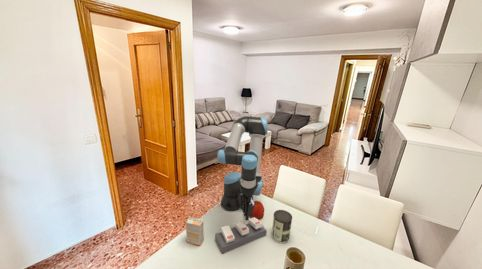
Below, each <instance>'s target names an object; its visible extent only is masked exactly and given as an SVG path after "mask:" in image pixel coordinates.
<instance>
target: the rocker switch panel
mask: <svg viewBox="0 0 482 269" xmlns="http://www.w3.org/2000/svg"><path fill="white" fill-rule="evenodd" d="M246 226H247V227H248V228H249V233H247V234H245V235H241V234H240V233H239V231H238V230H237V229H236V228H235V226H234V227H230V229H231V231H232V233H233V235H234V237H235V239H234V241H232V242H229V243H226V241H225V239H224V236H223V234H222V232H221V231H219V232H217V233H215V234H214V240H215V242H216V244H217V246H218V248H219V250H220V252H221V254H222V255H223V254H225V253H228V252H230V251H233V250H234V249H237V248H240V247H242V246H244V245H247V244H249V243H251V242H254V241H256V240H258V239H261V238H265V237H267V234H268V229H267V228H266V226H265V225H264V224H263V223H262V227H260V228H258V229H255V228H254V227H253V226H251V225H250V224H249V223H248V224H246Z"/></svg>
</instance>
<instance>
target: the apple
mask: <svg viewBox="0 0 482 269" xmlns="http://www.w3.org/2000/svg"><path fill="white" fill-rule="evenodd" d="M253 202H255V203H256V205H255V206H254V209H253V212H252V215H251V216H250V218H254V217H255V218H256V219H258V220H260V219H262V218H263V217H264V214H265V207H264V205H263V203H262V201H259V200H253Z"/></svg>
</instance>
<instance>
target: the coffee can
mask: <svg viewBox="0 0 482 269" xmlns="http://www.w3.org/2000/svg"><path fill="white" fill-rule="evenodd" d="M272 221H273V222H272V230H271V237H272V239H273V240H274V241H275V242H277V243H280V244H287V243H288V242H289V241H290V236H291V228H292V223H293V222H292V221H293V215H292V213H290V212H289V211H288V210H285V209H277V210H275V211H274V212H273V220H272Z"/></svg>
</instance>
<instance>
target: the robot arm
mask: <svg viewBox="0 0 482 269" xmlns="http://www.w3.org/2000/svg"><path fill="white" fill-rule="evenodd" d="M230 128H231V131H230V135H229V136H228V138H227V141H226V144H225V147H224V149H219V150H218V151H217V156H216V158H217V162H218V163H219V164H223V165H233V166H240V167H241V168H240V172H241V173H240V172H237V171H233V172H229V173H226V174H225V175H224V177H223V195H222V197H221V200H220V206H221V208H222V209H224V210H226V211H228V212H229V211H231V212H235V211H238V210H239V209H240V210H242V222H243V225H246V224H248V220H249V219H250V217H251V215H252V212H253V209H254V206H255V205H256V203H255V202H254V197H253V196H256V197H257V196H260V195H261V192H262V188H263V184H264V178H262V177H263V176H262V174H261V162H262V151H263V141H264V139H265V138H266V135H268V119H267V118H266V117H259V116H247V115H246V116H241V117H239V118H237V119H236V120H235V121H234V122H233V123H232V125H231V127H230ZM245 133H247V134H248V136H249V137H250V142H249V149H248V150H247V151H238V150H239V147H240V144H241V143H240V142H241V139H242V137H243V135H244V134H245Z"/></svg>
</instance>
